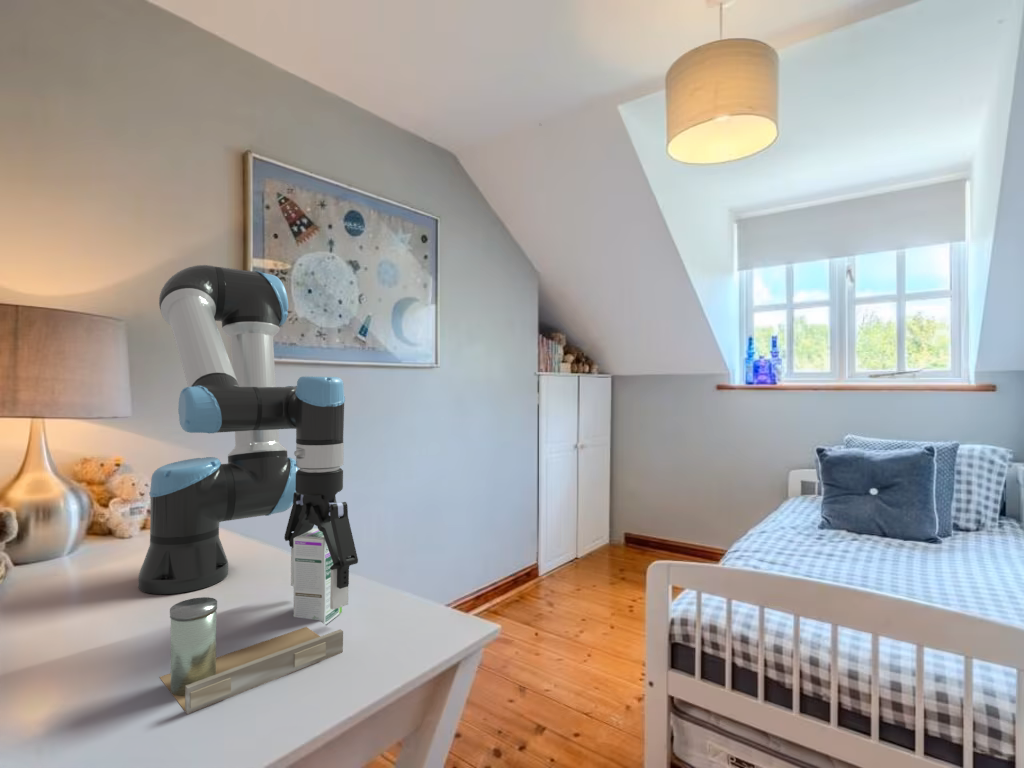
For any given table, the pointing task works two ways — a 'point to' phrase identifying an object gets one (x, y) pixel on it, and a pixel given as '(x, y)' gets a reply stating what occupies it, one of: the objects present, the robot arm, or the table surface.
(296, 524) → the robot arm
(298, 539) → the syrup box
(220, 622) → the table surface
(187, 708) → the shelf board
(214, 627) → the sage tin
